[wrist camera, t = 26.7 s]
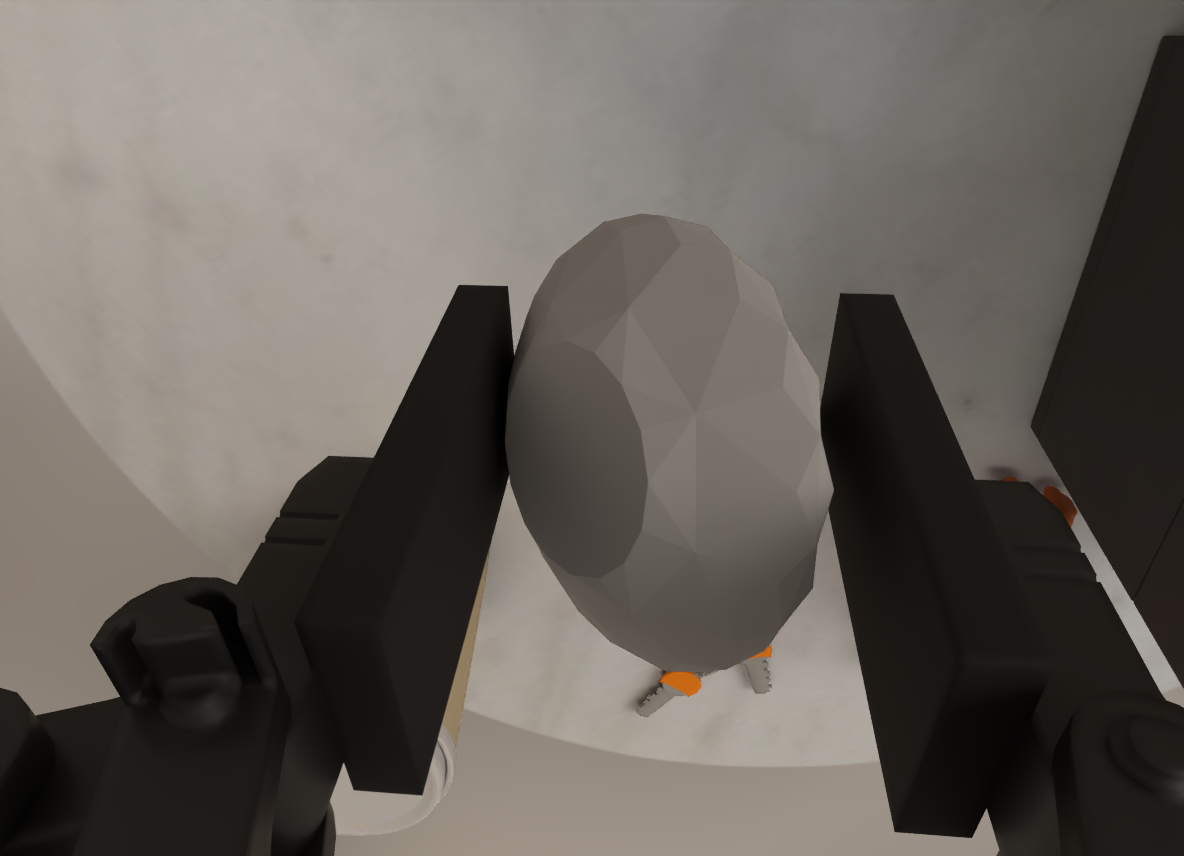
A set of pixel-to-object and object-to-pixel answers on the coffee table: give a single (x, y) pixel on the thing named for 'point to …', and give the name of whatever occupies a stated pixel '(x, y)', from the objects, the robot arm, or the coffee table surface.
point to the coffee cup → (400, 811)
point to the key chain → (691, 683)
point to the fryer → (1132, 368)
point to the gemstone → (668, 444)
